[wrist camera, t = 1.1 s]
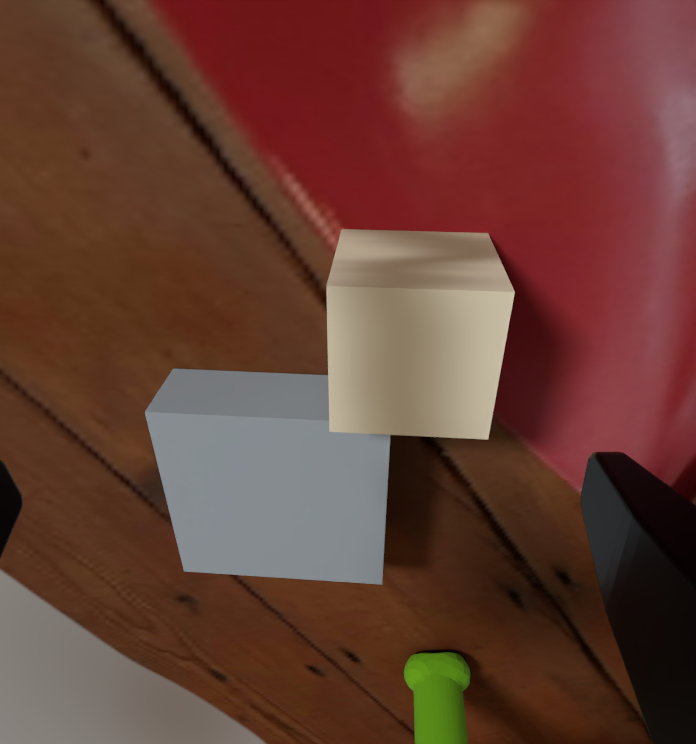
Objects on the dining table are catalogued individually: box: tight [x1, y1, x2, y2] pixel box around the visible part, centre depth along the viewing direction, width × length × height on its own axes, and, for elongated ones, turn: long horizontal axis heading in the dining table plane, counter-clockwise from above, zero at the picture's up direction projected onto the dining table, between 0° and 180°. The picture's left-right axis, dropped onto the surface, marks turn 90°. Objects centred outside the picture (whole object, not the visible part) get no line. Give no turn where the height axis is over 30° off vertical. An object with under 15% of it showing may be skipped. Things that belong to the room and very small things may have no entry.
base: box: [145, 369, 390, 584], centre depth 23 cm, size 9×9×3 cm
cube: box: [327, 229, 515, 440], centre depth 18 cm, size 5×5×5 cm
